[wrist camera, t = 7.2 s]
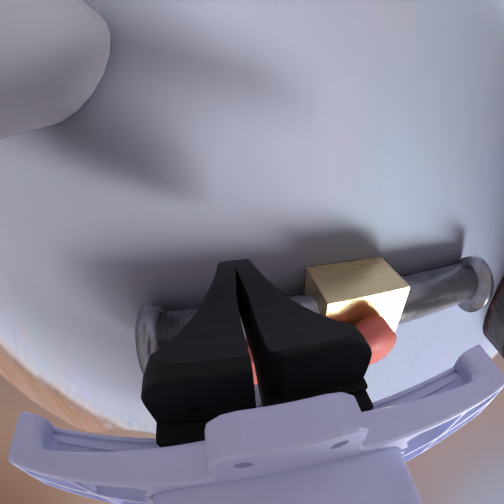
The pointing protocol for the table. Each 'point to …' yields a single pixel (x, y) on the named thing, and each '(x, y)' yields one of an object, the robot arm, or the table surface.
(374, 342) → the lever
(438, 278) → the pipe and valve
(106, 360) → the table surface
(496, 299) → the barrel
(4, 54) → the can
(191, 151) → the table surface
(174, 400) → the robot arm
